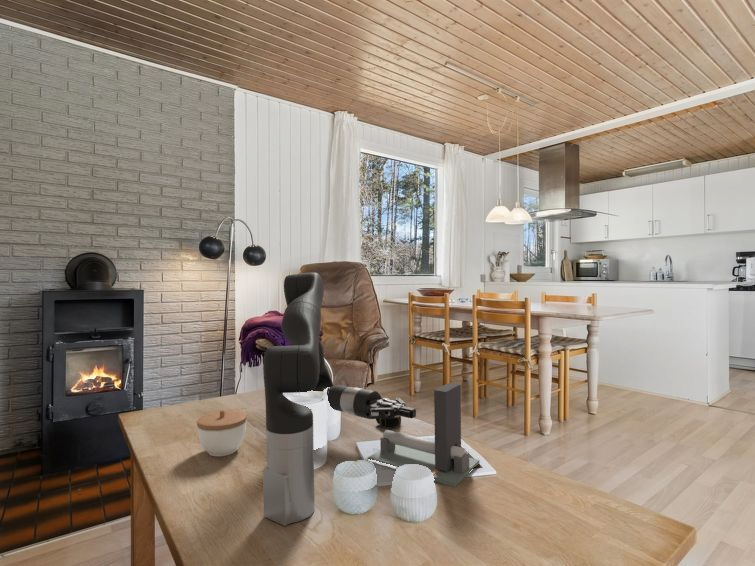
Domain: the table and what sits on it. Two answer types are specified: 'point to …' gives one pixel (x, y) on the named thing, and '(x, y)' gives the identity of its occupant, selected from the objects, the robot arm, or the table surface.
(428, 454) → the pipe stand
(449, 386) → the dark grey upright pillar
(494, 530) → the table surface
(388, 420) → the tape measure
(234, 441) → the lidded bowl
